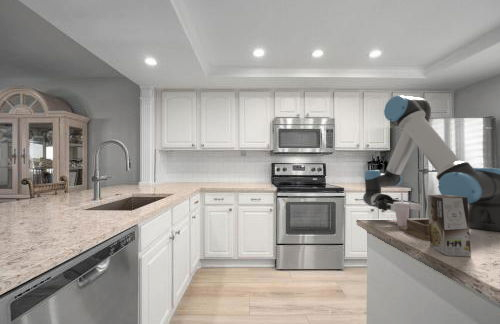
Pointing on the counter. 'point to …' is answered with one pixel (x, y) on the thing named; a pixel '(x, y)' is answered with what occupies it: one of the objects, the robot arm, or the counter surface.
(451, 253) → the coffee box
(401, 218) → the smoothie
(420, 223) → the caddy
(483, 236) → the counter surface
